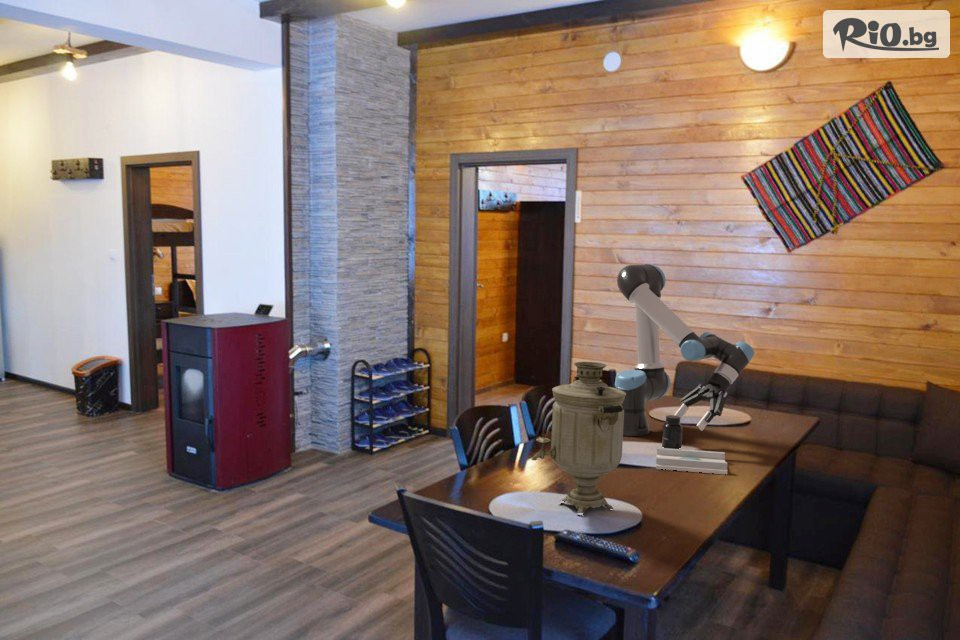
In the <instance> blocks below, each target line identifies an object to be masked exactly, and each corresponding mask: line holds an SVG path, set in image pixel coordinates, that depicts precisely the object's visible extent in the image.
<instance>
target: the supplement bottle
mask: <svg viewBox="0 0 960 640" xmlns="http://www.w3.org/2000/svg"><path fill="white" fill-rule="evenodd" d="M661 437H662V438H661V439H662V440H661V448H662V447H664V448H669V449H679V448H681V447H683V446H682V445H683V426H682V424H681V419H680V417H679V416H675V415H673V414H672V415H671V414H669V415H666V417H665V423H664V424H663V425H662V435H661Z"/></svg>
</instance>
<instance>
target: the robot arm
mask: <svg viewBox="0 0 960 640" xmlns="http://www.w3.org/2000/svg"><path fill="white" fill-rule="evenodd" d="M616 285H617V288H618V290H619V292H620V293H621V294H622V295H623V296H624V298H626V300H628V301H629V302H630V303H631V304H634V305H635V322H636V323H635V326H636V345H637V363H636V364H635V366H634V369H628V370H627V369H626V370H621V371H619V372H618V373H617V374H616V375H615V379H614V380H615V381H614V388H616V389H619V390H621V391H623V392H625V393H626V395H625V399H624V401H623V404H621V405H622V407H624V423H623V437H624V436H627V437H639V436H640V437H641V436H646V435H649V434H650V424H649V421H648V418H647V415H646V402H650V401H653V400H654V401H655V400H659V399H661V398H663V397H664V396H666V395H667V394H668V392H669V391H670V389H671V378H670V375H669V374H668V373H667V372H666V371H665V365H664V364H663V363H662V362H661V357H660V354H661V353H660V352H661V351H660V336H659V335H660V334H659V333H660V332H659V331H660V330H659V328H660V329H661V330H662V331H663V332H664V333H665V335H666V336H668V337H669V338H670V339H671V340H672V341H673V342H674V343H675V344H676V345H677V346H678V348H680V354H681V356H682V358H683V359H685V360H686V361H689V362H698V361H700V360H704V359H711V358H714V359H716V360H717V361H720V362H721V363H719V365H717V367H716V368H715V370H714V371H713V372H714V373H713V372H712V374H711V375H710V376H709V378H708V379H707V384H706V385H703V384H702V383H699V384H698V385H697V387H695V388H694V389H692V390H691V391H690V392H689V393H687V394H686V395H684V396H683V397H682V398H680V399H679V401H680V402H681V405H680V406H679V407H678V409H677V410H676V412H675V413H674V415H675V416H679V417H680V420H681V419H682V418H683V416H684V415H685V414H686V413H687V411H688V410H689V407H691V406H692V405H695V404H696V403H698V402H700V401H705V400H706V401H707V400H709V410H707V411H706V413H704V415H703V416H702V418H701V419H700V420H699V421H698V422H697V424H696V427H697V428H698V429H699V430H700V431H701V432H702V431H703V430H704V429H705V428H706V427H707V425H708V424H710V423H711V421H712V420H713V418H715V417H717V416H718V417H721V416H722V414H723V410H724V408H725V403H726V400H727V399H728V397H729V393H728V392H727V391H728V390H729V389H730V387H731V385H733V383H734V382H735V381H736V380H737V378H738V377H739V376H740V375H741V373H742V372H743V371H744V370H745V368H746V367H747V366H748V365H749V363H750V362H751V360H752V359H753V358H754V356H755V354H756V353H755V350H754V348H753V347H752V346H751V345H750V344H749V343H747V342H745V341H742V340H741V341H740V340H739V341H736V343H735V344H734V343H731V342H729V341H726V340H725V339H724V338H721V337H720V336H718V335H717V334H714V333H711V332H708V331H705V332H703V333H702V334H700V336H699V335H697V333H696V332H694V331H693V330H692V328H690V327H689V326H688V325H687V324H686V323H685V322H684V321H683V320H682V319H681V318H680V316H678V315H677V314H676V313H675V312H674V311H673V310H671V308H670V307H669V306H668V305H667V304H666V303H664V301H663V300H661V297H662V295H661V292H662V290H663V289H664V288H665V286H666V276H665V273H664V271H663V270H662V269H661V268H660V267H659V266H658V265H655V264H650V263H649V264H647V263H645V264H630V265H626V266H624V267H623V268H622V269H621V270H620V271H619V273H618V274H617V277H616Z"/></svg>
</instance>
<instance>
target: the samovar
mask: <svg viewBox="0 0 960 640" xmlns="http://www.w3.org/2000/svg"><path fill="white" fill-rule="evenodd" d="M573 365H574V366H575V367H576V375H577V376H574V379H575V380H574V381H572V382H571V383H569V384H561V385H557V386H554V387H553V388H551V390H552V396H553V398H554V402H553V404H552V414H551V415H552V417H551V437H550V438H551V439H550V438H548V437H545V436H542V437H538V438H536V439H535V441H536V442H539V443H541V446H540V449H539V451H538V452H536V453H535V454H534V455H533V456H532V458H531V461H537V460H538V458H539V459H542V460H543V459H545V457H546V456H550V459H551V460H553V461H554V463H555V465H556V466H558V468H559V469H561V470H562V471H564V473H566V474H567V475H570V476H572V482H573V484H575V485H576V486H577V487H575V488H573V489H572V490H571V491H570V492H568V493H567V495H566V496H565V497H564V498H563V499H561V500H562V501H564V502H565V503H567V504H569V505H571V506H574V507H575V508H576V509H577V512H578V513H584V514H585V512H586V511H587V509H589V508H593V509H596V508H600V507H601V506H603V507H604V508H607V509H608V510H610V509H614V507H613V505H611V504H609V503H608V501H607V500H606V498H605V496H604V495H605V494H603V493H602V492H601V491H600V490H598V489H596V488H595V487H596V486H598V485H599V484H600V477H603V476H606V475H608V474H609V473H611V471H614V470H615V469H617V467H618V466H619V465H620V463H621V460H622V457H623V442H624V439H623V438H624V435H623V423H624V407H622V405H621V404H623V401H624V399H625V395H626V393H625V392H623V391H621V390H619V389H616V388H615V387H612V386H608V384H607V383H605V382H604V381H601V378H602V377H603V370H604V368H606V367H607V366H608V364H606V363H603V362H596V361H576V362H574V363H573ZM549 442H550V451H549V450H548V451H547V450H546V449H545V444H546V443H549Z"/></svg>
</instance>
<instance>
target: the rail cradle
mask: <svg viewBox="0 0 960 640" xmlns="http://www.w3.org/2000/svg"><path fill="white" fill-rule="evenodd" d="M725 454H726V453H725V451H711V450H696V449H695V450H694V449H684V448H682V449H669V448H662V447H657V448H656V457H655V458H656V459H655V460H656V462H655V470H661V469H663V470H662V471H673V470H677V472H686V471H688V473H699V472H702V473H703V474H712V473H714V475H725V474H726V475H728V471H729V470H728V462H727V461H726V458H725V457H726V455H725ZM665 469H666V470H665ZM702 473H701V474H702Z"/></svg>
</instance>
